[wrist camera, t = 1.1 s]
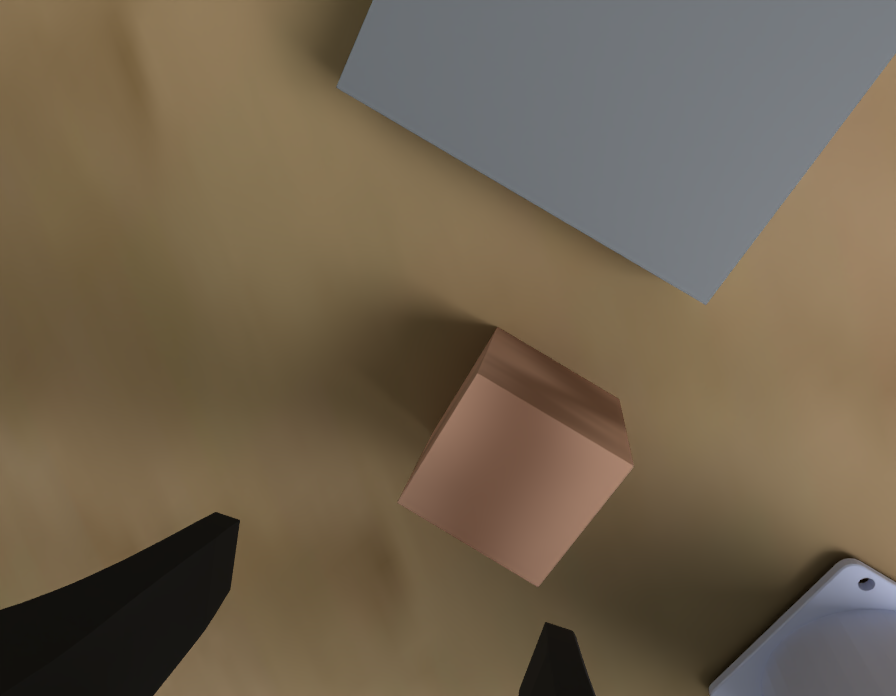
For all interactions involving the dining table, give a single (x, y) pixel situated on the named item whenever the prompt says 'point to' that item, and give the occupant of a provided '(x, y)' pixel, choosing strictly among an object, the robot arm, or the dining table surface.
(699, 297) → the slate block
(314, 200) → the dining table surface
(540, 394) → the terracotta cube
